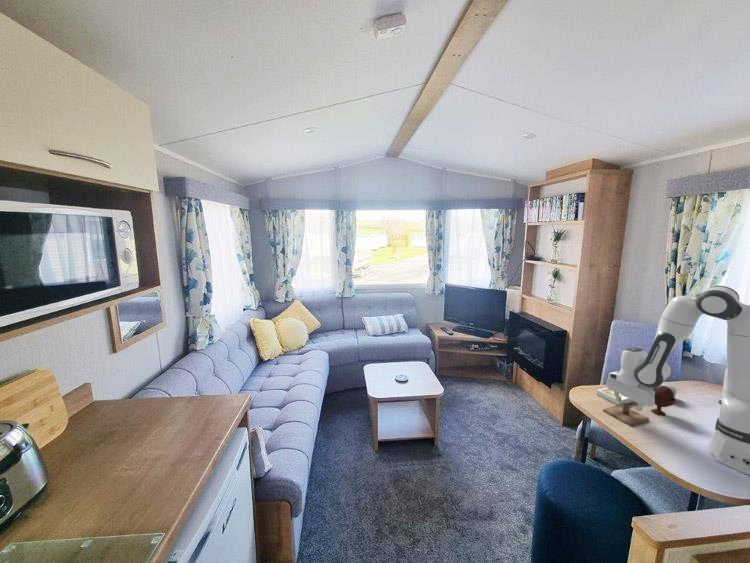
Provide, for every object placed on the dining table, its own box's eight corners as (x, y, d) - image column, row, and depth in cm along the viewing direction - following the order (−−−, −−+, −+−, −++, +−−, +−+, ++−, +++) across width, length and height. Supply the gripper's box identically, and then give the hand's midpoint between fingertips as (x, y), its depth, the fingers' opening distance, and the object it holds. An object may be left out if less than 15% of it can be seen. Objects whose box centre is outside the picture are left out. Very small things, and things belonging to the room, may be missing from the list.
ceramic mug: (675, 398, 169) (677, 385, 168) (673, 403, 164) (675, 390, 162) (650, 391, 177) (651, 378, 176) (647, 396, 172) (649, 383, 171)
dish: (634, 401, 166) (635, 396, 166) (619, 405, 163) (619, 400, 162) (611, 390, 178) (612, 386, 177) (596, 394, 174) (597, 389, 174)
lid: (648, 419, 150) (650, 408, 149) (630, 425, 146) (631, 414, 145) (620, 405, 162) (622, 395, 161) (603, 410, 158) (604, 400, 157)
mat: (648, 420, 150) (648, 419, 150) (630, 426, 146) (630, 425, 146) (620, 406, 162) (620, 405, 162) (603, 411, 159) (603, 410, 158)
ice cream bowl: (660, 407, 161) (664, 380, 158) (679, 419, 150) (683, 391, 148) (639, 406, 162) (642, 380, 160) (655, 419, 151) (659, 391, 149)
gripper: (659, 387, 142) (656, 415, 144) (614, 370, 161) (612, 394, 163) (650, 390, 140) (647, 418, 142) (605, 372, 160) (603, 396, 162)
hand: (628, 405), depth 153 cm, fingers open, 8 cm apart
